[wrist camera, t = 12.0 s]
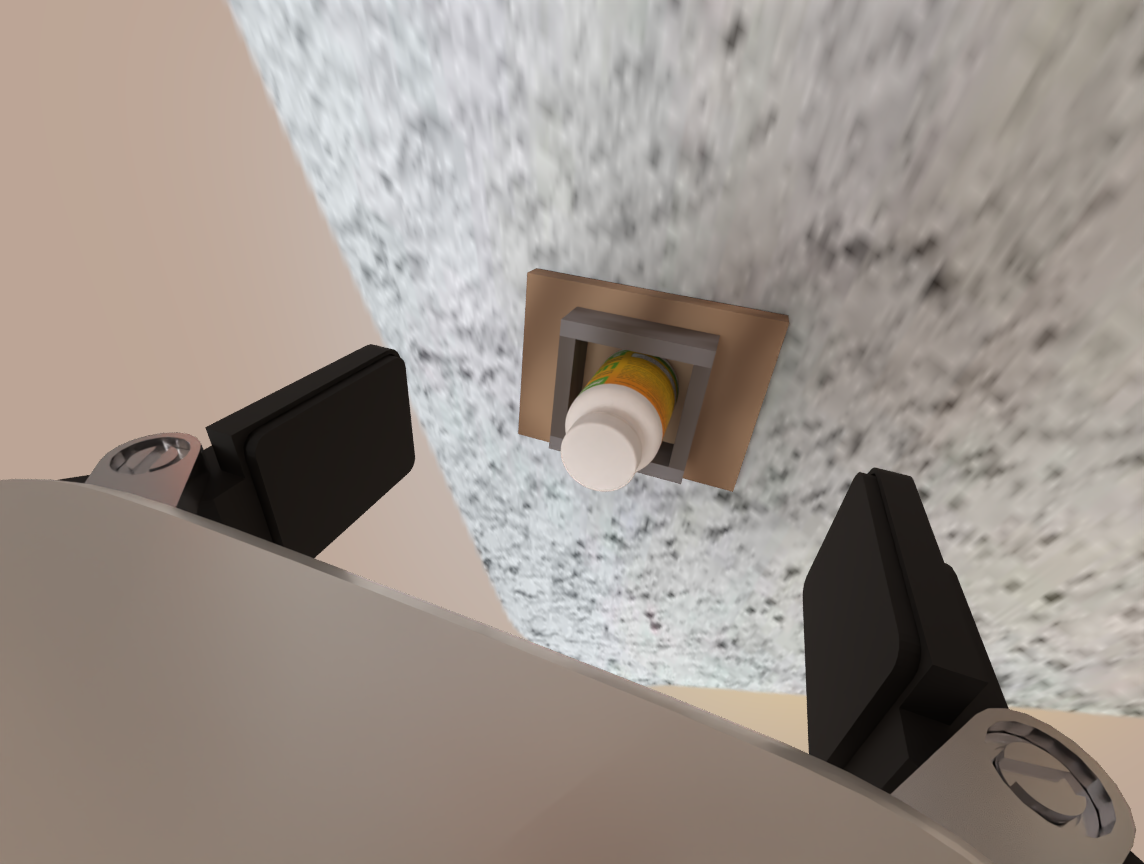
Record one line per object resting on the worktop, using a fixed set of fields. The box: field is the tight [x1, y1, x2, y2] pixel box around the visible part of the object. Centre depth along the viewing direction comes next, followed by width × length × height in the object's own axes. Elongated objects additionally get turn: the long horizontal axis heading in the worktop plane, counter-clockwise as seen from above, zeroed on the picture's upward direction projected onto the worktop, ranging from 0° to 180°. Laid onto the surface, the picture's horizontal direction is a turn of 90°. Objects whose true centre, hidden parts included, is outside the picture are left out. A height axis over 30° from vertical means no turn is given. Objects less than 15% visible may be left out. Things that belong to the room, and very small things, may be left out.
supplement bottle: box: [561, 349, 679, 491], centre depth 29 cm, size 5×5×10 cm
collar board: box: [518, 268, 789, 492], centre depth 33 cm, size 16×12×4 cm
